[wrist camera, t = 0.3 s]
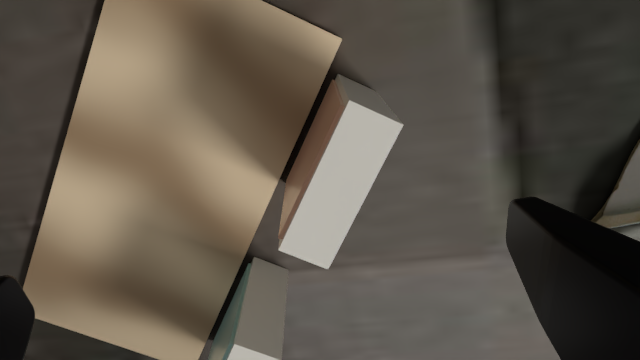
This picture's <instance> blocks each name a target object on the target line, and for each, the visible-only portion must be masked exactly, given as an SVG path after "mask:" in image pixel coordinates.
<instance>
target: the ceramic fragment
mask: <svg viewBox="0 0 640 360" xmlns="http://www.w3.org/2000/svg"><path fill="white" fill-rule="evenodd" d="M591 221H593V222H595V223H597V224H600V225H602V226H604V227H607V228H615V227H620V226H627V225H632V224H637V223H640V138H639V140H638V142H637V144H636V145H635V147H634V149H633V151H632V152H631V155H630V157H629V159H628V161H627V163H626V165H625V167H624V169H623V171H622V173H621V175H620V177H619V179H618V181H617V183H616V185H615V187H614V189H613V191H612V192H611V194H610V196H609V197H608V199H607V201H606V203H605V204H604V206H603V207H602V208H601V210H600V211H599V212H598V213H597V215H596V216H595V217H594V218H593V219H592V220H591Z"/></svg>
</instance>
